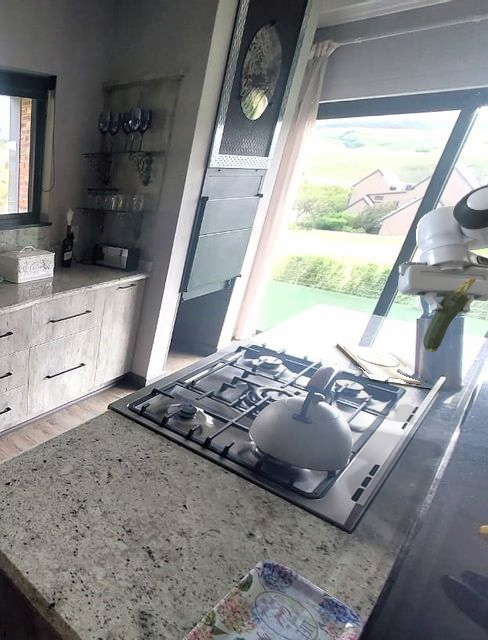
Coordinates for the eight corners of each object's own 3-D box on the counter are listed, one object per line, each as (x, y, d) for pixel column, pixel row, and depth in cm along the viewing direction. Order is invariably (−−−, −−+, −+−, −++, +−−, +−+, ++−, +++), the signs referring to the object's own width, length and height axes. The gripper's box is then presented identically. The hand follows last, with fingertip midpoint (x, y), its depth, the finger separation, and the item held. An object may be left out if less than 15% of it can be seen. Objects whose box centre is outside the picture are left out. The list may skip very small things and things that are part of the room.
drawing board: (385, 352, 134) (387, 349, 133) (431, 389, 112) (433, 385, 111) (335, 345, 138) (337, 342, 137) (370, 379, 116) (372, 376, 115)
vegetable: (419, 352, 108) (463, 278, 99) (410, 345, 112) (451, 274, 102) (439, 354, 107) (486, 280, 97) (430, 348, 111) (473, 276, 101)
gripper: (408, 254, 106) (413, 301, 102) (502, 260, 102) (511, 309, 98) (389, 267, 112) (393, 312, 108) (477, 274, 108) (485, 320, 104)
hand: (450, 311), depth 103 cm, fingers closed on vegetable, 4 cm apart
